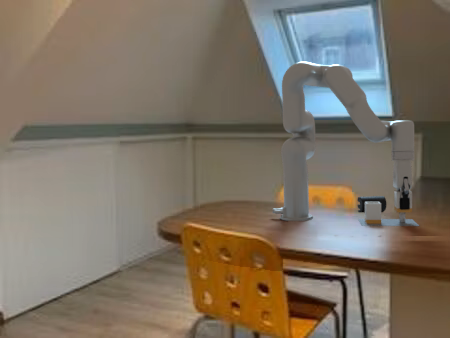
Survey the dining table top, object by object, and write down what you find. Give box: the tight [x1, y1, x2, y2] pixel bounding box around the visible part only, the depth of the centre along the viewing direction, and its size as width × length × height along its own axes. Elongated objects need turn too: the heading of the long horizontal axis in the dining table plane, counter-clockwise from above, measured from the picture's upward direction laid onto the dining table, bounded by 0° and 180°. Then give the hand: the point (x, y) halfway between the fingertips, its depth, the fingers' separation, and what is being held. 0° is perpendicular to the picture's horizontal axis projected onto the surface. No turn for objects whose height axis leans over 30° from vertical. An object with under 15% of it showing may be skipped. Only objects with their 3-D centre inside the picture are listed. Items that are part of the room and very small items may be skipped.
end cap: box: [356, 195, 387, 213], centre depth 207 cm, size 10×7×7 cm
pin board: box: [357, 212, 420, 227], centre depth 179 cm, size 19×12×6 cm, turn 81°
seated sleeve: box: [364, 202, 382, 224], centre depth 180 cm, size 5×5×7 cm
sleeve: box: [393, 189, 413, 213], centre depth 178 cm, size 5×5×7 cm
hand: (403, 207), depth 178 cm, fingers closed on sleeve, 5 cm apart
